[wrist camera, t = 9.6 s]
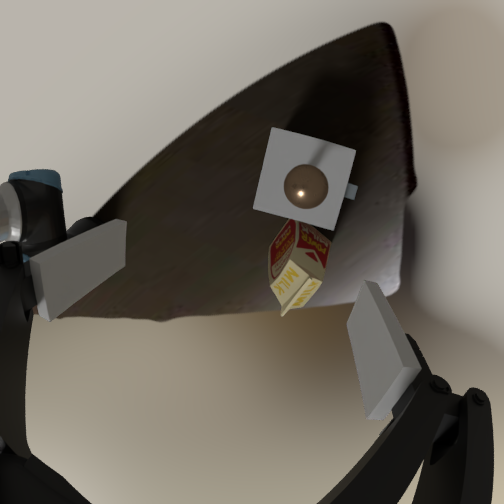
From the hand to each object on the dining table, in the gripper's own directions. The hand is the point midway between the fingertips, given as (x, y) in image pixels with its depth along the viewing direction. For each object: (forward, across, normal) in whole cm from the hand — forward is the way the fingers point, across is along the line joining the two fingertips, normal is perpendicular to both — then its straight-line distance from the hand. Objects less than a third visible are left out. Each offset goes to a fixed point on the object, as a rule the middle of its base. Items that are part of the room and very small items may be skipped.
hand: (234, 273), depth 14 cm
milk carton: (+38, +6, -9) cm, 39 cm away
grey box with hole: (+38, +4, +4) cm, 38 cm away
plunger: (+36, +3, +4) cm, 37 cm away
